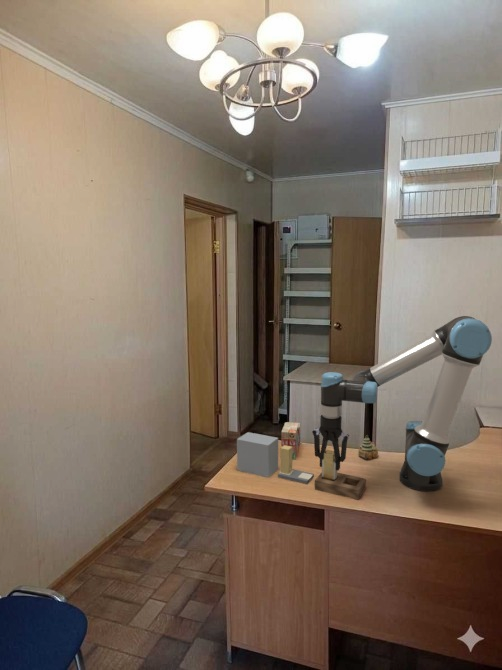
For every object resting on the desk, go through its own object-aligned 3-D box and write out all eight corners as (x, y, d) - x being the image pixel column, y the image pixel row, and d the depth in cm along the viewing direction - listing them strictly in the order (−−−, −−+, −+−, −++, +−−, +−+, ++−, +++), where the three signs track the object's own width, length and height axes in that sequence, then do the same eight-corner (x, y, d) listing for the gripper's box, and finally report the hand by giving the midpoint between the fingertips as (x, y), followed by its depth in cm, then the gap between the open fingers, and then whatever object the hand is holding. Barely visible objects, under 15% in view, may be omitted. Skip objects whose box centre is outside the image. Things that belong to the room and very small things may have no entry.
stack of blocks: (287, 440, 206) (287, 415, 204) (300, 441, 204) (300, 416, 203) (281, 459, 185) (281, 431, 183) (295, 460, 184) (296, 432, 182)
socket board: (365, 487, 159) (365, 478, 158) (358, 499, 150) (358, 490, 150) (323, 478, 167) (324, 469, 166) (314, 489, 158) (314, 480, 157)
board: (314, 476, 168) (314, 449, 166) (307, 484, 162) (307, 455, 160) (284, 470, 174) (285, 443, 172) (277, 477, 168) (277, 449, 166)
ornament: (369, 452, 191) (369, 430, 189) (380, 457, 186) (380, 435, 184) (356, 456, 187) (356, 434, 185) (367, 461, 181) (367, 438, 180)
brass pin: (335, 477, 161) (336, 451, 159) (332, 481, 158) (333, 454, 156) (326, 475, 162) (327, 449, 161) (323, 479, 159) (323, 453, 158)
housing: (278, 468, 175) (278, 437, 174) (268, 477, 168) (268, 445, 166) (248, 461, 182) (247, 432, 180) (237, 470, 174) (236, 439, 173)
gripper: (356, 416, 156) (354, 477, 159) (313, 409, 164) (311, 467, 167) (350, 422, 149) (348, 486, 153) (305, 414, 157) (304, 475, 161)
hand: (329, 476), depth 160 cm, fingers closed on brass pin, 4 cm apart
